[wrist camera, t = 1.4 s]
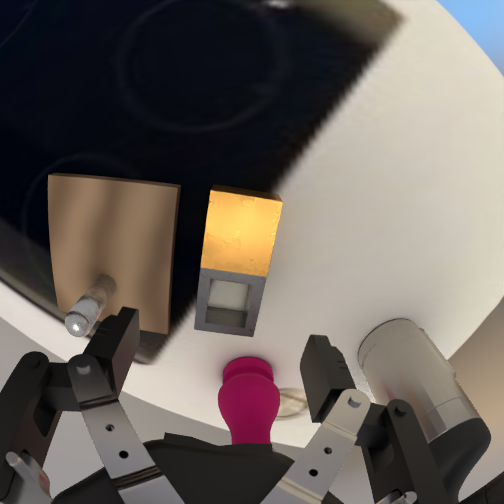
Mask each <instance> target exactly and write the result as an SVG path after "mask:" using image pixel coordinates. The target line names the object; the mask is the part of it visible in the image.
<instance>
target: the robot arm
mask: <svg viewBox="0 0 504 504" xmlns="http://www.w3.org/2000/svg"><path fill="white" fill-rule="evenodd" d="M139 339H140V326H139V310H138V309H135V308H130V307H125V306H123V307H122V308H121V310H120V311H119V313H118V315H117V316H116V315H112V314H111V315H109V316H108V317H106V318H105V319H103V321H102V322H101V324H100V325H99V328H98V329H97V330H96V332H95V334H94V335H93V337H92V338H91V340H90V342H89V343H88V345H87V347H86V348H85V350H84V352H83V354H79V355H76V356H74V357H72V358H71V359H70V360H69V361H68V363H53V362H49V359H48V357H47V356H46V355H45V354H43V353H41V352H36V351H33V352H29V353H27V354H25V355H24V356H23V357H22V358H21V359H20V361H19V363H18V364H17V366H16V367H15V369H14V370H13V372H12V374H11V375H10V377H9V379H8V380H7V382H6V384H5V385H4V387H3V389H2V391H1V392H0V504H344V503H343V502H341V501H340V500H339V499H338V498H336V497H335V496H334V495H333V494H332V493H330V492H329V491H328V490H329V488H330V486H331V485H332V483H333V481H334V480H335V478H336V476H337V475H338V473H339V471H340V469H341V468H342V466H343V464H344V462H345V461H346V459H347V457H348V455H349V453H350V451H351V449H352V447H353V445H357V446H361V448H362V452H363V456H364V460H365V464H366V468H367V473H368V477H369V481H370V485H371V489H372V494H373V499H374V503H375V504H504V472H502V473H501V474H499V475H498V476H497V477H495V478H494V479H493V480H491V481H490V482H489V483H487V485H485V486H484V487H482V488H480V489H479V490H478V491H476V492H475V493H473V494H472V495H470V496H469V497H467V498H466V499H464V500H462V501H461V502H459V501H458V494H459V490H460V488H461V486H462V484H463V482H464V480H465V479H466V477H467V476H468V474H469V473H470V471H471V470H472V468H473V467H474V466H475V464H476V463H477V462H478V461H479V459H480V458H481V457H482V455H483V454H484V453H485V451H486V450H487V448H488V446H489V444H490V441H491V434H490V431H489V429H488V427H487V426H486V424H485V423H484V421H483V420H482V418H481V417H480V415H479V413H478V412H477V410H476V409H475V407H474V406H473V404H472V402H471V401H470V400H469V398H468V397H467V395H466V394H465V392H464V391H463V389H462V388H461V386H460V385H459V383H458V382H457V381H456V379H455V378H456V373H455V371H454V370H453V368H452V367H451V366H450V364H449V363H448V362H447V360H446V359H445V357H444V356H443V355H442V353H441V352H440V351H439V349H438V348H437V347H436V345H435V344H434V343H433V342H432V340H431V339H430V338H429V336H428V335H427V334H426V333H425V331H424V330H423V329H418V327H417V326H416V325H415V324H414V323H413V322H412V321H409V320H406V319H398V320H393V321H390V322H387V323H385V324H383V325H381V326H379V327H378V328H377V329H375V330H374V331H373V332H372V333H371V334H369V335H368V337H367V338H366V339H365V340H364V342H363V343H362V345H361V347H360V350H359V353H358V361H359V364H360V366H361V368H362V370H363V373H364V375H365V377H366V379H367V381H368V384H369V386H370V388H371V391H372V393H373V395H374V397H375V400H376V402H377V404H375V403H371V402H370V399H369V398H368V396H367V395H366V394H365V393H363V392H362V391H359V390H357V389H356V386H355V384H354V381H353V379H352V376H351V374H350V371H349V369H348V367H347V364H346V363H345V359H344V357H343V354H342V353H341V352H340V351H339V350H338V349H337V348H336V347H334V346H331V345H330V342H329V339H328V337H327V336H324V335H310V337H309V339H308V342H307V344H306V347H305V350H304V352H303V355H302V358H301V362H300V371H301V376H302V380H303V384H304V389H305V393H306V397H307V402H308V406H309V411H310V415H311V419H312V423H321V426H320V427H319V429H318V430H317V432H316V433H315V435H314V436H313V437H312V439H311V440H310V442H309V443H308V445H307V446H306V447H305V449H304V450H303V451H302V453H301V454H300V456H299V457H298V458H297V460H296V461H294V460H293V459H291V458H289V457H287V456H286V455H283V454H281V453H278V452H275V451H273V449H272V444H261V443H240V444H233V445H224V446H217V445H213V444H211V443H208V442H205V441H202V440H199V439H196V438H193V437H189V436H183V435H177V434H171V433H166V432H165V435H164V439H159V440H151V441H147V442H144V443H142V442H141V440H140V439H139V437H138V435H137V434H136V432H135V430H134V428H133V426H132V425H131V423H130V421H129V419H128V417H127V415H126V414H125V411H124V410H123V407H122V406H121V404H120V402H119V400H118V397H119V395H120V392H121V389H122V387H123V384H124V381H125V379H126V376H127V374H128V371H129V368H130V366H131V363H132V361H133V358H134V356H135V353H136V351H137V348H138V345H139ZM63 411H78V412H79V411H80V412H81V413H82V415H83V418H84V421H85V423H86V426H87V428H88V431H89V433H90V435H91V438H92V440H93V442H94V445H95V447H96V449H97V451H98V453H99V456H100V458H101V460H102V462H103V464H104V467H103V468H101V469H100V470H98V471H97V472H95V473H93V474H91V475H90V476H88V477H87V478H85V479H83V480H82V481H80V482H78V483H76V484H75V485H73V486H71V487H69V488H68V489H66V490H64V491H62V492H61V493H59V494H58V495H57V496H56V497H55V498H54V499H52V498H51V496H50V491H49V489H50V481H49V478H48V476H47V475H46V473H45V472H44V471H43V469H42V468H43V464H44V461H45V458H46V455H47V452H48V449H49V446H50V443H51V441H52V438H53V435H54V432H55V430H56V427H57V424H58V422H59V419H60V417H61V414H62V412H63Z"/></svg>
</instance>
